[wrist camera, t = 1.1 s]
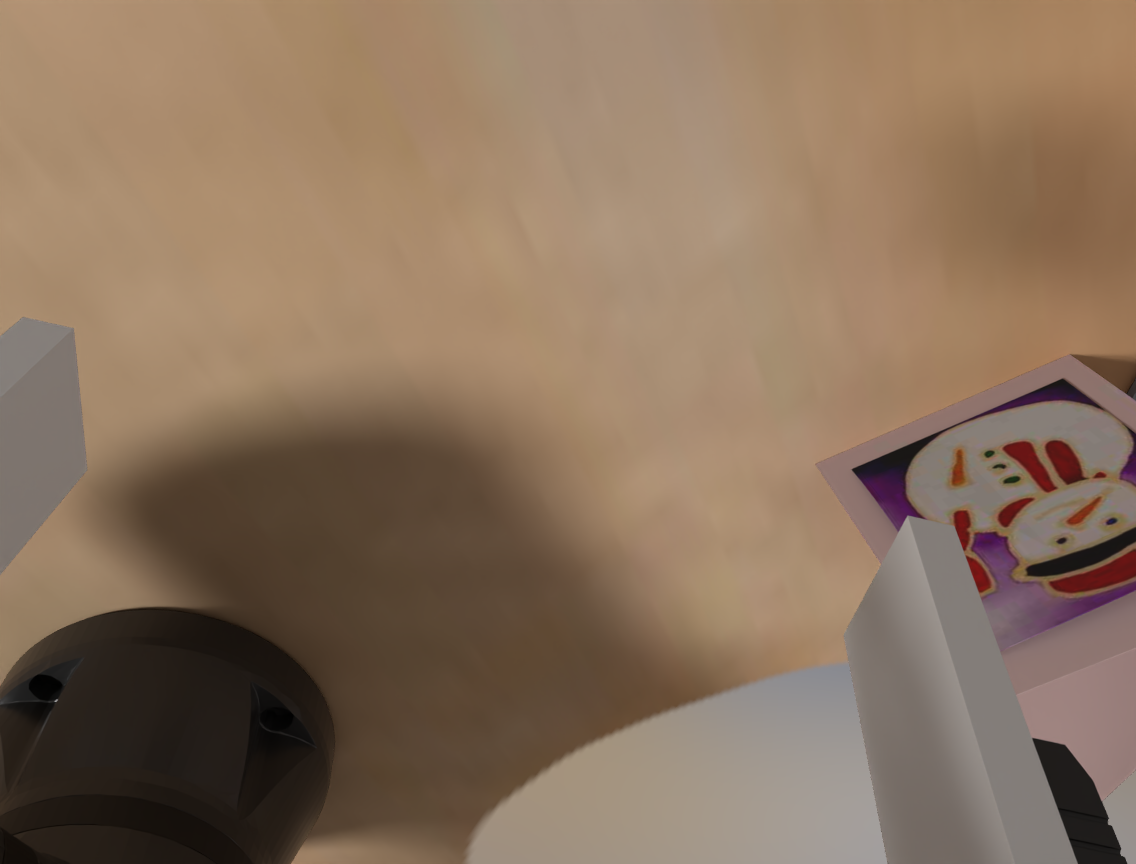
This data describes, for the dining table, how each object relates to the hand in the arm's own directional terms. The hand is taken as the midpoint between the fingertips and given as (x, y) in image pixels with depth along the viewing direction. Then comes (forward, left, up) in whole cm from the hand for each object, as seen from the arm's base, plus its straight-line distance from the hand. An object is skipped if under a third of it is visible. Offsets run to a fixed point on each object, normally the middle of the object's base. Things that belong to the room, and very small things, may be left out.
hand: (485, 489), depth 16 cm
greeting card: (-7, -23, -22) cm, 33 cm away
